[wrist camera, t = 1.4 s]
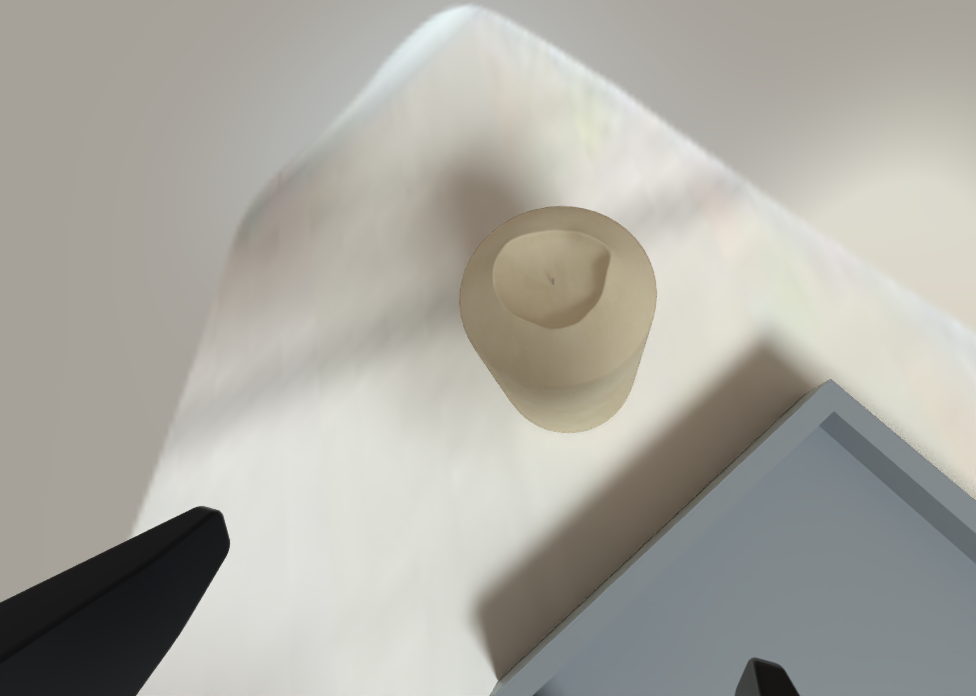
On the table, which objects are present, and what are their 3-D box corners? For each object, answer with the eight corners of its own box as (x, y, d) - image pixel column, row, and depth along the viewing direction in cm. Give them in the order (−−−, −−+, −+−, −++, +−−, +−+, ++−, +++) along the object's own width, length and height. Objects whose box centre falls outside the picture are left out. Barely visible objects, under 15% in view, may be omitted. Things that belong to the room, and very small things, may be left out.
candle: (615, 296, 24) (630, 154, 15) (649, 419, 22) (691, 345, 13) (492, 325, 25) (432, 206, 15) (516, 447, 23) (465, 396, 14)
